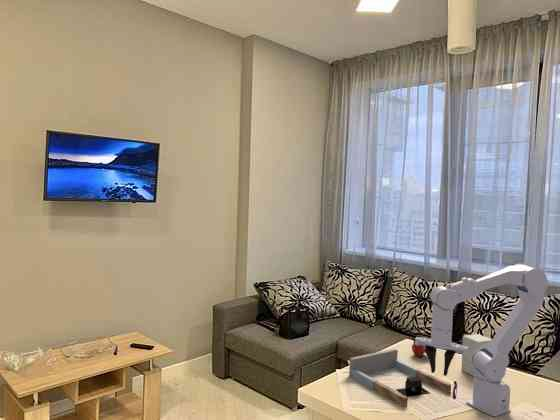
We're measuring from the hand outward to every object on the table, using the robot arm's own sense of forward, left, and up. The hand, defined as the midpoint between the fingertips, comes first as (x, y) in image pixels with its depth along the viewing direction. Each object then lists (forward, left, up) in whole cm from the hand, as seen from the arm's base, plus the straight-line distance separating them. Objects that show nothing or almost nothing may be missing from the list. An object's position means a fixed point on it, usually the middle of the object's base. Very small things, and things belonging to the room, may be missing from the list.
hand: (439, 373), depth 132 cm
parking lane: (+15, 0, -9) cm, 18 cm away
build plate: (+9, 0, -10) cm, 14 cm away
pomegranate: (+30, -27, -10) cm, 41 cm away
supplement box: (+10, -32, -10) cm, 35 cm away
